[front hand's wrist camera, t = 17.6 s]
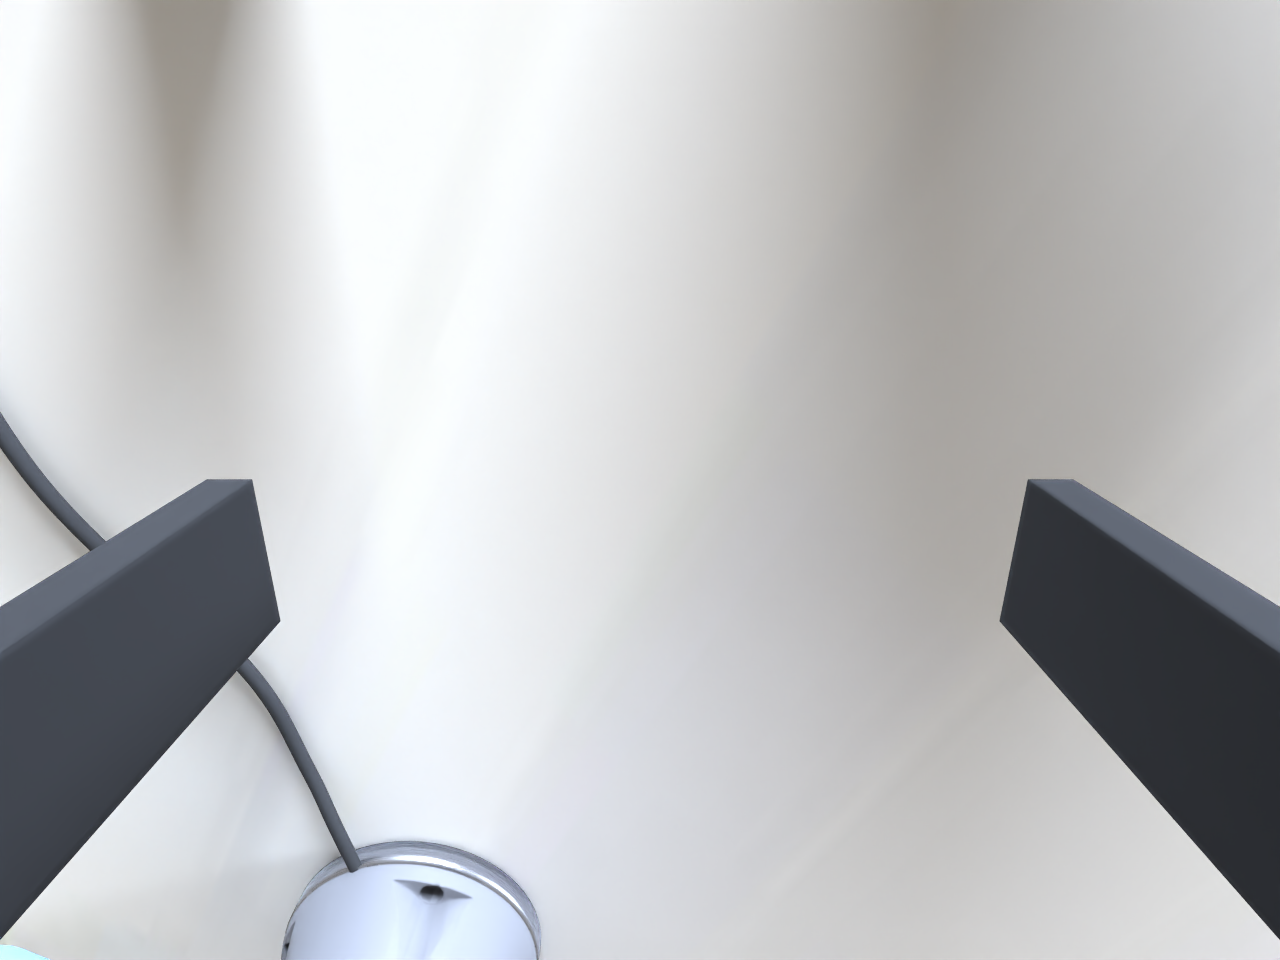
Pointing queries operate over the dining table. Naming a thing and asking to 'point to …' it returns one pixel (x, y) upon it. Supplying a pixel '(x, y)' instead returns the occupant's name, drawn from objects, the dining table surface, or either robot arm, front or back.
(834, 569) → the dining table surface
